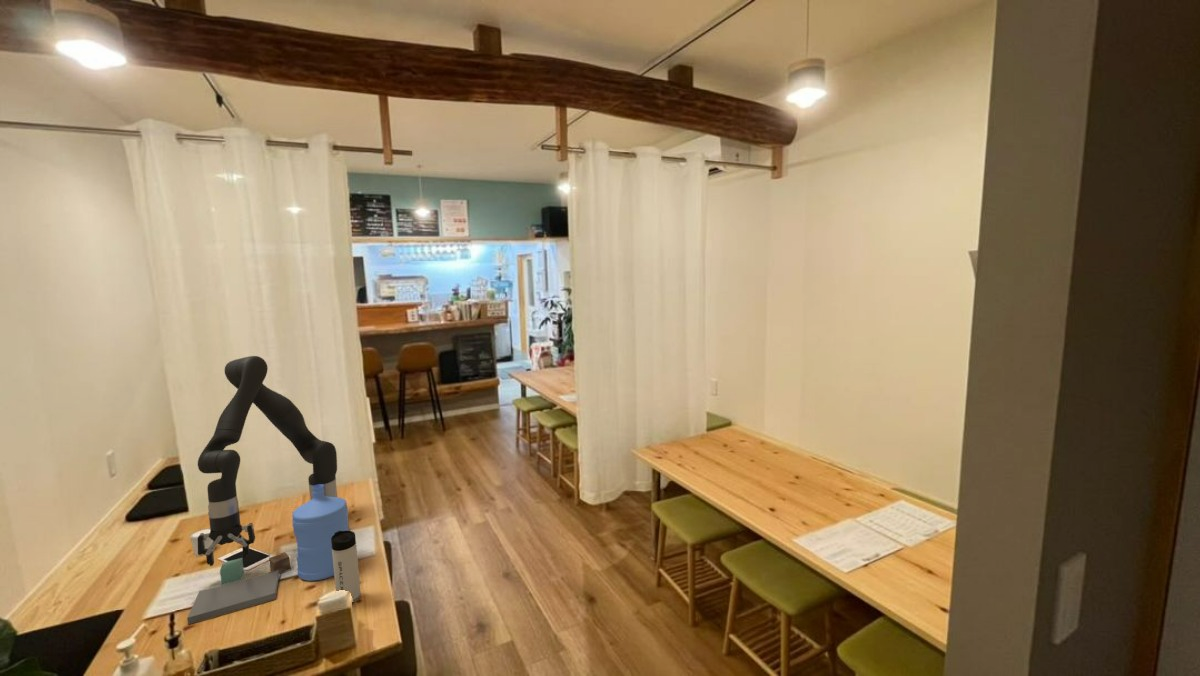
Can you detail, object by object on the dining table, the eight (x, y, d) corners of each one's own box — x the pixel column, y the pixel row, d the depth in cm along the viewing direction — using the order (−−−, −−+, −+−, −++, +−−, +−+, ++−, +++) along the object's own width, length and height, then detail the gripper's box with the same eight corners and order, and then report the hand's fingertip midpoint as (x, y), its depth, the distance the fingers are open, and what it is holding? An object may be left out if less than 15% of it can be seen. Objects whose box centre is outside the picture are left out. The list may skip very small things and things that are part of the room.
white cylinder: (202, 557, 166) (200, 538, 166) (186, 555, 168) (184, 536, 167) (221, 547, 173) (219, 528, 172) (206, 545, 174) (204, 527, 174)
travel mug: (353, 589, 144) (347, 526, 142) (365, 597, 140) (359, 532, 139) (332, 601, 139) (325, 536, 137) (343, 609, 135) (337, 542, 134)
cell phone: (245, 548, 172) (245, 545, 172) (275, 559, 164) (275, 556, 164) (217, 561, 164) (217, 558, 164) (247, 572, 156) (246, 570, 156)
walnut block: (286, 564, 160) (284, 552, 159) (290, 569, 157) (289, 556, 156) (270, 571, 156) (269, 558, 156) (274, 576, 153) (273, 562, 153)
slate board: (279, 575, 153) (278, 570, 153) (275, 599, 141) (274, 593, 141) (200, 597, 143) (199, 591, 143) (188, 624, 131) (187, 617, 131)
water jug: (363, 558, 162) (356, 479, 159) (322, 585, 147) (314, 498, 144) (328, 552, 167) (321, 474, 164) (286, 577, 152) (277, 493, 149)
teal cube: (243, 572, 156) (242, 557, 156) (241, 579, 152) (239, 565, 151) (224, 577, 154) (223, 562, 153) (221, 585, 149) (220, 570, 149)
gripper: (253, 502, 157) (257, 549, 159) (198, 512, 151) (203, 561, 152) (249, 511, 151) (254, 559, 152) (192, 522, 144) (197, 573, 145)
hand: (228, 560), depth 152 cm, fingers open, 8 cm apart
